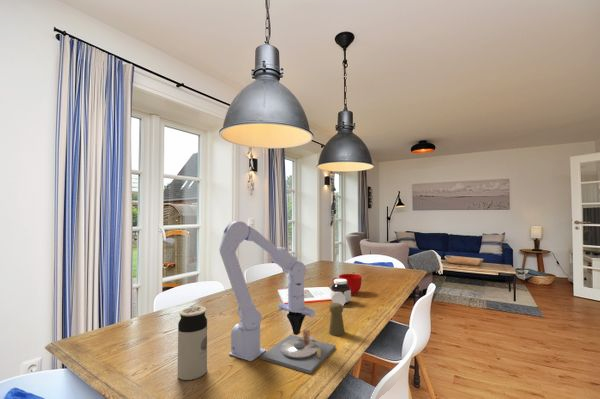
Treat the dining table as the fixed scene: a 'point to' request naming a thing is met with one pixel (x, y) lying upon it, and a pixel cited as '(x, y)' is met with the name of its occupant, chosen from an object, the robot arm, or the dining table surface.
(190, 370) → the travel mug
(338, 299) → the spread jar
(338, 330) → the cork
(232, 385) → the dining table surface
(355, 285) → the ceramic cup
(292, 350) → the flange plate
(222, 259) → the robot arm
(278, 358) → the turntable base
